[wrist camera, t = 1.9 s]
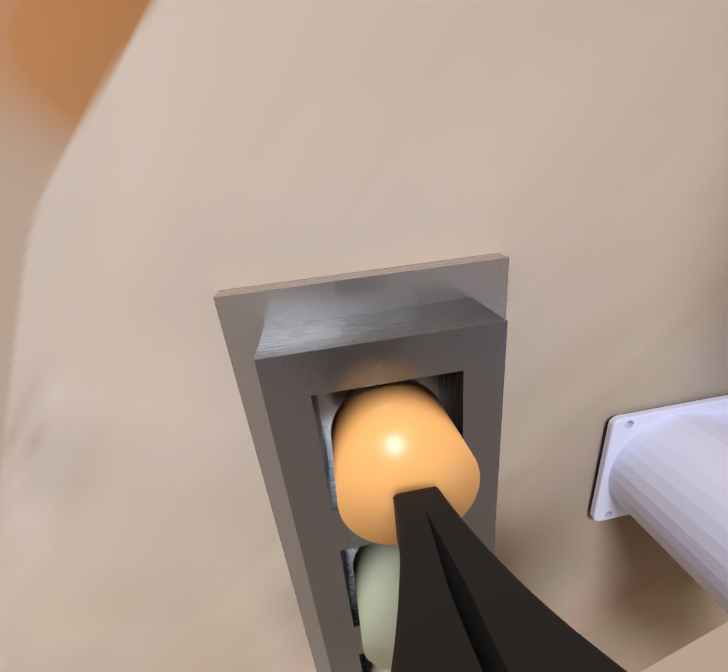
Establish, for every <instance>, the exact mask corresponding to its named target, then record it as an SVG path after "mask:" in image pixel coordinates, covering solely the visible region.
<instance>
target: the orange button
mask: <svg viewBox="0 0 728 672" xmlns="http://www.w3.org/2000/svg"><path fill="white" fill-rule="evenodd" d="M331 443H332V453H333V463H334V473H335V483H336V493H337V503H338V509H339V513H340V516H341V518H342V520H343V521H344V523H345V524H346V526H347V527H348V528H349V529H350V530H351V531H352V532H354V533H355V534H356V535H358V536H360V537H361V538H363V539H365V540H368V541H371V542H374V543H378V544H384V545H398V542H397V534H396V524H395V513H394V502H393V497H394V496H395V495H396V494H398V493H403V492H408V491H414V490H419V489H424V488H429V487H434V486H436V487H437V488H439V489H440V491H441V492H442V494H443V495H444V496H445V498H446V499H447V500H448V502H449V503H450V504H451V506H452V507H453V508H454V510H455V511H456V512H457V513H458V514H459V516H460V517H461V518H462V517H463V516H464V515H465V513H466V512H467V511H468V510H469V508H470V507H471V505H472V504H473V502H474V500H475V498H476V495H477V493H478V489H479V484H480V471H479V467H478V464H477V461H476V459H475V457H474V456H473V454H472V452H471V451H470V449H469V448H468V446H467V444H466V443H465V441H464V440H463V438H462V436H461V435H460V433H459V432H458V430H457V428H456V427H455V425H454V424H453V422H452V420H451V419H450V417H449V416H448V414H447V412H446V411H445V409H444V408H443V406H442V404H441V403H440V401H439V400H438V398H437V396H436V395H435V394H434V393H433V392H432V391H431V390H429V389H428V388H427V387H425V386H424V385H422V384H420V383H418V382H415V381H412V380H404V381H398V382H392V383H386V384H380V385H374V386H368V387H361V388H359V389H357V390H356V391H354V392H353V393H352V394H351V395H349V396H348V397H347V398H346V399H345V400H344V401H343V402H342V404H341V405H340V406H339V408H338V410H337V411H336V413H335V415H334V418H333V421H332V425H331Z"/></svg>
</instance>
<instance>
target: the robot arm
mask: <svg viewBox="0 0 728 672" xmlns="http://www.w3.org/2000/svg"><path fill="white" fill-rule="evenodd" d="M393 502H394V513H395V524H396V534H397V542H398V547H399V552H400V575H399V597H398V611H397V623H396V633H395V643H394V651H393V659H392V666H391V672H627V671H626V670H624V669H623V668H622V667H620V666H619V665H618V664H617V663H615V662H614V661H613V660H612V659H610V658H609V657H608V656H606V655H605V654H604V653H603V652H601V651H600V650H599V649H598V648H596V647H595V646H594V645H593V644H591V643H590V642H589V641H587V640H586V639H585V638H584V637H582V636H581V635H580V634H579V633H577V632H576V631H575V630H574V629H572V628H571V627H570V626H569V625H568V624H567V623H565V622H564V621H563V620H562V619H561V618H560V617H558V616H557V615H556V614H555V613H554V612H553V611H552V610H550V609H549V608H548V607H547V606H546V605H545V604H544V603H543V602H542V601H540V600H539V599H538V598H537V597H536V596H535V595H534V594H533V593H532V592H531V591H530V590H528V589H527V588H526V587H525V586H524V585H523V584H522V583H521V582H520V581H519V580H518V579H517V578H516V577H515V576H514V575H513V574H512V573H511V572H510V571H509V570H508V569H507V568H506V567H505V566H504V565H503V564H502V563H501V562H500V561H499V560H498V559H497V558H496V557H495V555H494V554H493V553H492V552H491V551H490V550H489V549H488V548H487V547H486V546H485V545H484V543H483V542H482V541H481V540H480V539H479V538H478V537H477V536H476V535H475V533H474V532H473V531H472V530H471V529H470V528H469V527H468V525H467V524H466V523H465V522H464V521H463V519H462V518H461V517H460V516H459V514H458V513H457V512H456V511H455V510H454V508H453V507H452V506H451V504H450V503H449V502H448V500H447V499H446V498H445V496H444V495H443V494H442V492H441V491H440V489H439V488H437V487H436V486H434V487H429V488H424V489H419V490H414V491H408V492H403V493H398V494H396V495H395V496H394V497H393ZM590 515H591V517H592V518H593V519H594V520H595V521H602V520H607V519H612V518H616V517H621V516H625V515H631V516H632V517H633V518H634V519H635V520H636V521H637V522H638V523H639V524H640V525H641V526H642V527H643V528H644V529H645V530H646V531H647V532H648V533H649V534H650V535H651V536H652V537H653V538H654V539H655V540H656V541H657V542H658V543H659V544H660V545H661V546H662V547H663V548H664V549H665V550H666V551H667V552H668V554H669V555H670V556H671V557H672V558H673V559H674V560H675V561H676V562H677V563H678V564H679V565H680V566H681V567H682V568H683V569H684V570H685V571H686V572H687V573H688V574H689V575H690V576H691V577H692V578H693V579H694V580H695V581H696V582H697V583H698V584H699V585H700V586H701V587H702V588H703V589H704V590H705V591H706V592H707V593H708V594H709V595H710V596H711V597H712V598H713V599H714V600H715V601H716V602H717V603H718V604H719V605H720V606H721V607H722V608H723V609H724V610H725V611H726V612H727V613H728V395H724V396H719V397H713V398H708V399H702V400H697V401H692V402H686V403H681V404H676V405H670V406H665V407H659V408H654V409H649V410H643V411H638V412H633V413H627V414H622V415H617V416H614V417H613V418H611V419H610V421H609V423H608V427H607V432H606V437H605V442H604V447H603V452H602V456H601V461H600V466H599V471H598V476H597V481H596V486H595V491H594V496H593V501H592V506H591V511H590Z"/></svg>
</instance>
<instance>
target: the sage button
mask: <svg viewBox="0 0 728 672" xmlns="http://www.w3.org/2000/svg"><path fill="white" fill-rule="evenodd" d="M353 572H354V580H355V588H356V596H357V604H358V612H359V620H360V628H361V637H362V645H363V651H364V654H365V656H366V657H367V659H368V660H369V661H370V662H372V663H373V664H375V665H376V666H378V667H381V668H384V669H389V670H391V666H392V659H393V651H394V643H395V633H396V623H397V611H398V597H399V575H400V552H399V547H398V545H384V544H378V543H375V544H370V545H365V546H360V547H359V549H358V550H357V552H356V554H355V557H354V560H353Z"/></svg>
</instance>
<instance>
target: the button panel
mask: <svg viewBox="0 0 728 672" xmlns="http://www.w3.org/2000/svg"><path fill="white" fill-rule="evenodd" d="M508 268H509V257H506V256H504V255H501V254H498V253H497V254H489V255H482V256H474V257H467V258H459V259H452V260H444V261H437V262H430V263H422V264H415V265H407V266H400V267H392V268H385V269H377V270H370V271H362V272H355V273H348V274H340V275H333V276H325V277H318V278H310V279H303V280H295V281H288V282H280V283H273V284H266V285H258V286H251V287H243V288H236V289H228V290H221V291H219V292H218V293H217V294H216V295H215V296H214V301H215V305H216V308H217V312H218V316H219V319H220V323H221V326H222V330H223V334H224V337H225V341H226V345H227V348H228V352H229V355H230V359H231V363H232V366H233V370H234V373H235V377H236V381H237V384H238V388H239V392H240V395H241V399H242V402H243V406H244V410H245V413H246V417H247V420H248V424H249V428H250V431H251V435H252V439H253V442H254V446H255V449H256V453H257V457H258V460H259V464H260V467H261V471H262V475H263V478H264V482H265V486H266V489H267V493H268V496H269V500H270V504H271V507H272V511H273V514H274V518H275V522H276V525H277V529H278V533H279V536H280V540H281V543H282V547H283V551H284V554H285V558H286V561H287V565H288V569H289V572H290V576H291V580H292V583H293V587H294V590H295V594H296V598H297V601H298V605H299V608H300V612H301V616H302V619H303V623H304V627H305V630H306V634H307V637H308V641H309V645H310V648H311V652H312V655H313V659H314V663H315V666H316V670H317V672H370V667H369V660H368V659H367V657H366V656H365V654H364V651H363V645H362V637H361V628H360V620H359V612H358V604H357V596H356V588H355V580H354V572H353V560H354V557H355V554H356V552H357V550H358V549H359V547H360V546H365V545H370V544H375V543H374V542H371V541H368V540H365V539H363V538H361V537H360V536H358V535H356V534H355V533H354V532H352V531H351V530H350V529H349V528H348V527H347V526H346V524H345V523H344V521H343V520H342V518H341V516H340V513H339V509H338V503H337V493H336V483H335V473H334V463H333V453H332V443H331V425H332V421H333V418H334V415H335V413H336V411H337V410H338V408H339V406H340V405H341V404H342V402H343V401H344V400H345V399H346V398H347V397H348V396H349V395H351V394H352V393H353V392H354V391H356V390H357V389H359V388H361V387H368V386H374V385H380V384H386V383H392V382H398V381H404V380H412V381H415V382H418V383H420V384H422V385H424V386H425V387H427V388H428V389H429V390H431V391H432V392H433V393H434V394H435V395H436V396H437V398H438V400H439V401H440V403H441V404H442V406H443V408H444V409H445V411H446V412H447V414H448V416H449V417H450V419H451V420H452V422H453V424H454V425H455V427H456V428H457V430H458V432H459V433H460V435H461V436H462V438H463V440H464V441H465V443H466V444H467V446H468V448H469V449H470V451H471V452H472V454H473V456H474V457H475V459H476V461H477V464H478V467H479V471H480V484H479V489H478V493H477V495H476V498H475V500H474V502H473V504H472V505H471V507H470V508H469V510H468V511H467V512H466V513H465V515H464V516H463V517H462V519H463V521H464V522H465V523H466V524H467V525H468V527H469V528H470V529H471V530H472V531H473V532H474V533H475V535H476V536H477V537H478V538H479V539H480V540H481V541H482V542H483V543H484V545H485V546H486V547H487V548H488V549H489V550H490V551H491V552H492V553H494V537H495V520H496V504H497V487H498V471H499V454H500V437H501V421H502V404H503V388H504V371H505V355H506V338H507V322H508V321H507V320H505V319H506V302H507V285H508Z"/></svg>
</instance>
